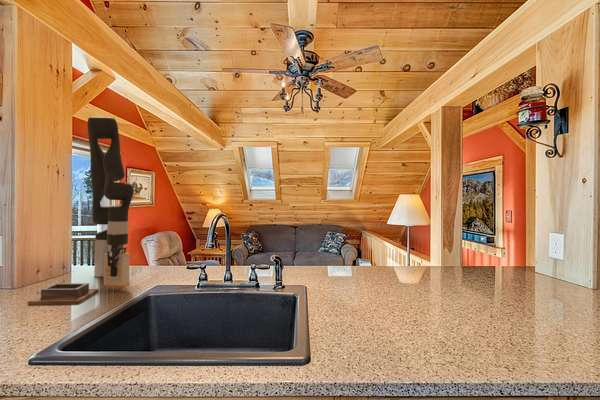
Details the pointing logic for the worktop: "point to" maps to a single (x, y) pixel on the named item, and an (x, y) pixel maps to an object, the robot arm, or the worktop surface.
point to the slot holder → (64, 294)
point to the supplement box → (122, 271)
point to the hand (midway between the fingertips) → (116, 274)
